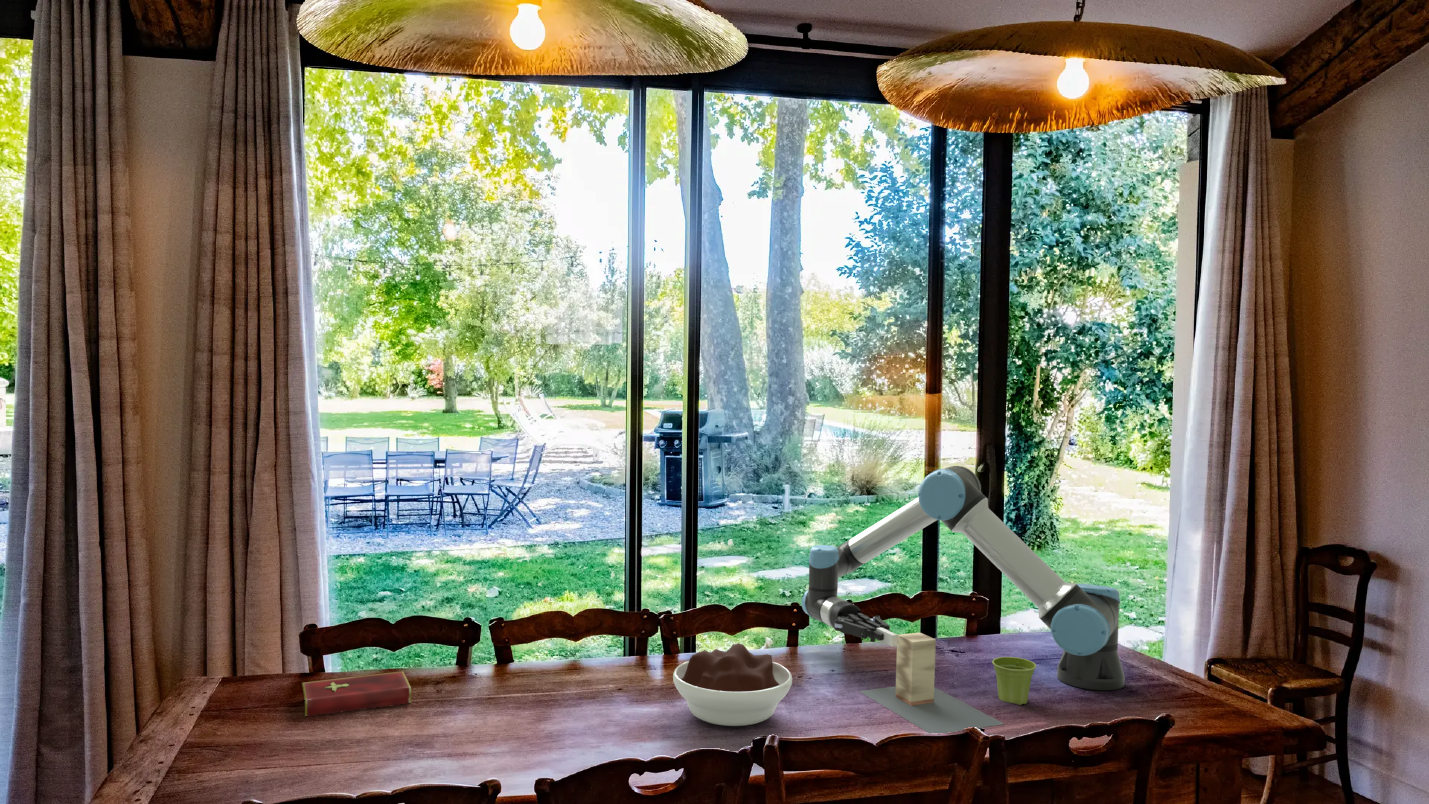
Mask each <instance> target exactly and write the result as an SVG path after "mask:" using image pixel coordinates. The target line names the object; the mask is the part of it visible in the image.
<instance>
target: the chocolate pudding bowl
mask: <svg viewBox="0 0 1429 804" xmlns="http://www.w3.org/2000/svg"><path fill="white" fill-rule="evenodd" d="M772 658H773V657H772V655H770V654H768V653H766V654H759V655H758V654H757V655H755V654H753V653H751V652H750V651H749V650H748V649H747V647H746V646H745V645H744V644H742V643H735V644H734V643H732V645H731V646H730V647H729V649H727V651H722V650H719V649H717V648H715V649H714V650H713V651H711V652H709V651H708V650H706V649H704V650H702V651H698V652H697V653H694V654H692V655H691V656H690V658H689V660H687V661H685V662H683V663H681V664H679V665H678V666H677V667H676V668H675V669H674V672H673V674H672V679H673V680H672V681H673V684H674V687H675V688H676V690H677V691H678V693H679V694H680V695H681V697H682V698H683V699H684V700H685V701H686V704H687V706H688V708H689V711H690V713H691V714H692V715H693V716H695V718H698V719H699V720H701V721H703V722H706V723H709V724H713V725H719V726H728V727H742V726H750V725H756V724H758V723H761V722H764V721H766V720H768V719H770V718H771V717H772V716H773V715H774V713H775V710H776V709H777V706H778V704H779V702H781V701H782V700H783V699H784V698H785V696H786V695H787V694H788V693H789V690H790V688H791V687H792V685H793V676H792V673H791V671H790V670H788V668H786V667H785V666H783V665H782V664H780V663H778V662H775V661H773V659H772Z"/></svg>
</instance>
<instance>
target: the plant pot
mask: <svg viewBox="0 0 1429 804" xmlns="http://www.w3.org/2000/svg"><path fill="white" fill-rule="evenodd" d="M991 662H992V665H993V666H994V671H995V676H996V684H997V695H998V696H997V697H998V699H999V700H1001V701H1002V702H1006V703H1010V704H1016V705H1019V706H1022V705H1023V704H1024V705H1026V704H1027V703H1028V699H1029V693H1030V688H1031V682H1032V677H1033V675H1034V672H1035V670H1036V668H1037V664H1036V663H1035V662H1033V661H1031V660H1029V659H1025V658H1021V657H1015V656H999V657H995V658H994V659H992V661H991Z"/></svg>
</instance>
